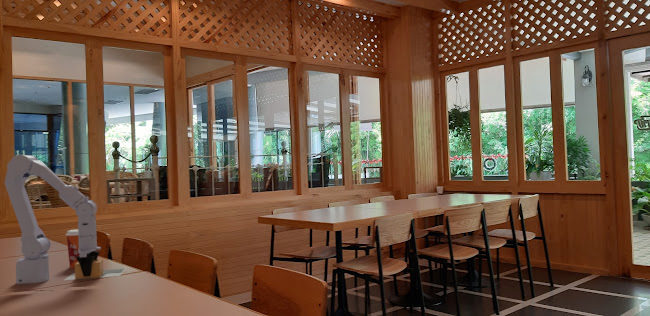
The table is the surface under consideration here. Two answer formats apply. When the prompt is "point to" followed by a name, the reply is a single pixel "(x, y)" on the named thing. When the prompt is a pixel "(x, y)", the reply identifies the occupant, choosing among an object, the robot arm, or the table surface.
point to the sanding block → (95, 271)
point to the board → (105, 274)
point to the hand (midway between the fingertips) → (88, 274)
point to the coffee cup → (73, 246)
